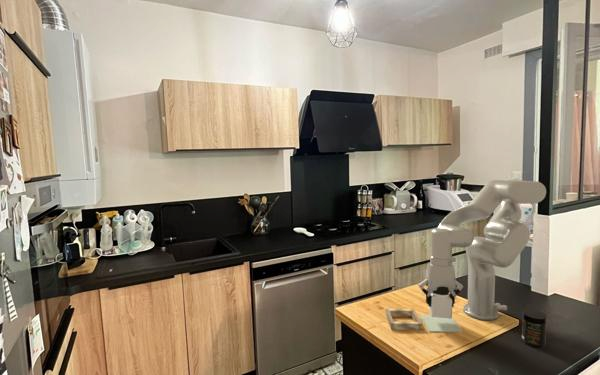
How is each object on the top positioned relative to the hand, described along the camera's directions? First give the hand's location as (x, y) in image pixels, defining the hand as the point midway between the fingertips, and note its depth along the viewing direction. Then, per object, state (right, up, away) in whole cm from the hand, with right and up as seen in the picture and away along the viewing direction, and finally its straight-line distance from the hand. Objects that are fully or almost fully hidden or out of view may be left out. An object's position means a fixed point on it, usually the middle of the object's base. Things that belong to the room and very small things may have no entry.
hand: (440, 305), depth 124 cm
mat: (0, -8, +1) cm, 8 cm away
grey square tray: (-13, -8, +3) cm, 16 cm away
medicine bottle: (0, -4, 0) cm, 4 cm away
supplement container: (+26, -8, -13) cm, 31 cm away
